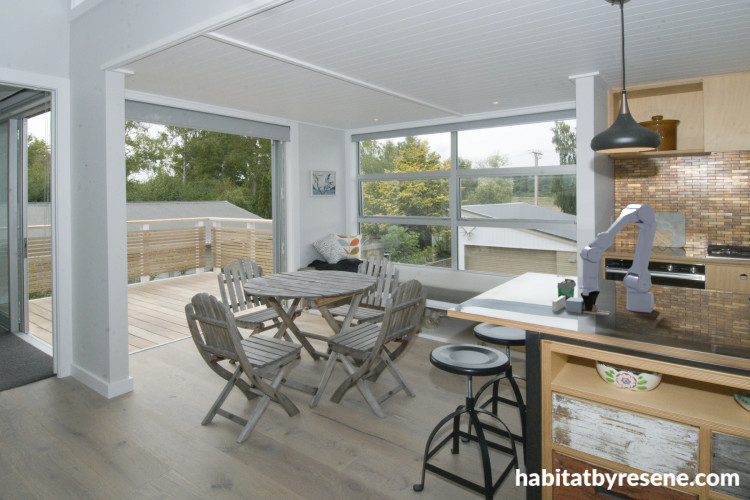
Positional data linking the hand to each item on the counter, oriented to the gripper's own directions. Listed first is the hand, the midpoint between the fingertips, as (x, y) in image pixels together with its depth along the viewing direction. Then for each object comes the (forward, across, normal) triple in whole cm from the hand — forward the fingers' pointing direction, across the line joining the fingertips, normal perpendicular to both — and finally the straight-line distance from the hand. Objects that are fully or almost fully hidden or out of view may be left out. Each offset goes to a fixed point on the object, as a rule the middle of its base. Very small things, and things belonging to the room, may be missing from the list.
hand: (590, 309), depth 190 cm
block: (+2, 0, -6) cm, 6 cm away
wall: (+2, 0, -12) cm, 13 cm away
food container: (+2, -17, -14) cm, 22 cm away
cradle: (+2, 0, +2) cm, 3 cm away
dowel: (+1, 0, -2) cm, 2 cm away
